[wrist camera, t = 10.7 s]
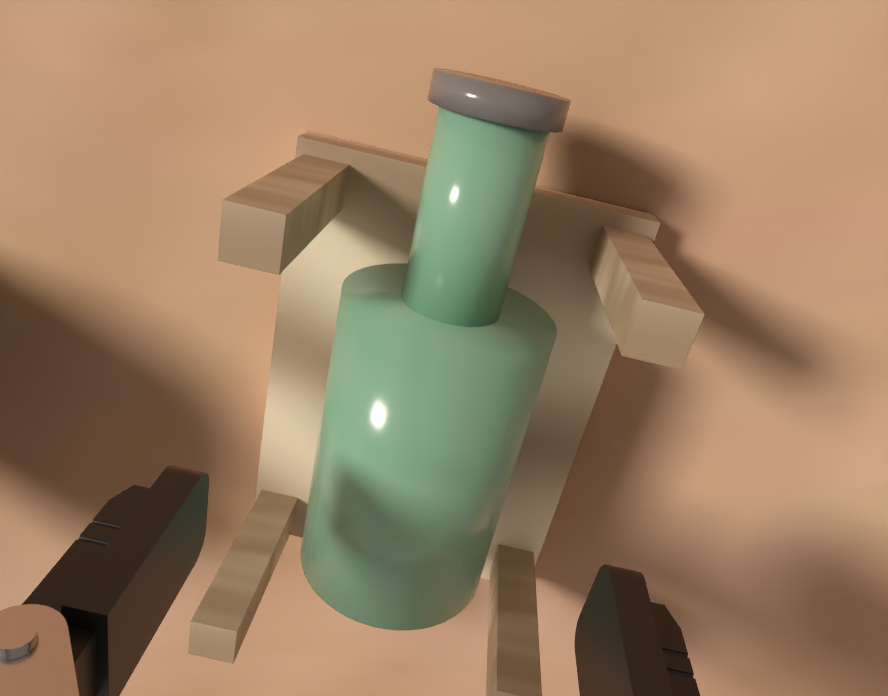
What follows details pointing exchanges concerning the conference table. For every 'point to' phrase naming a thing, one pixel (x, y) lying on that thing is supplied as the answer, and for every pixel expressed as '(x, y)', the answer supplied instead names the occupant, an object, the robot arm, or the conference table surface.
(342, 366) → the bottle
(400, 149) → the conference table surface
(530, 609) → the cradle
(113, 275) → the conference table surface
